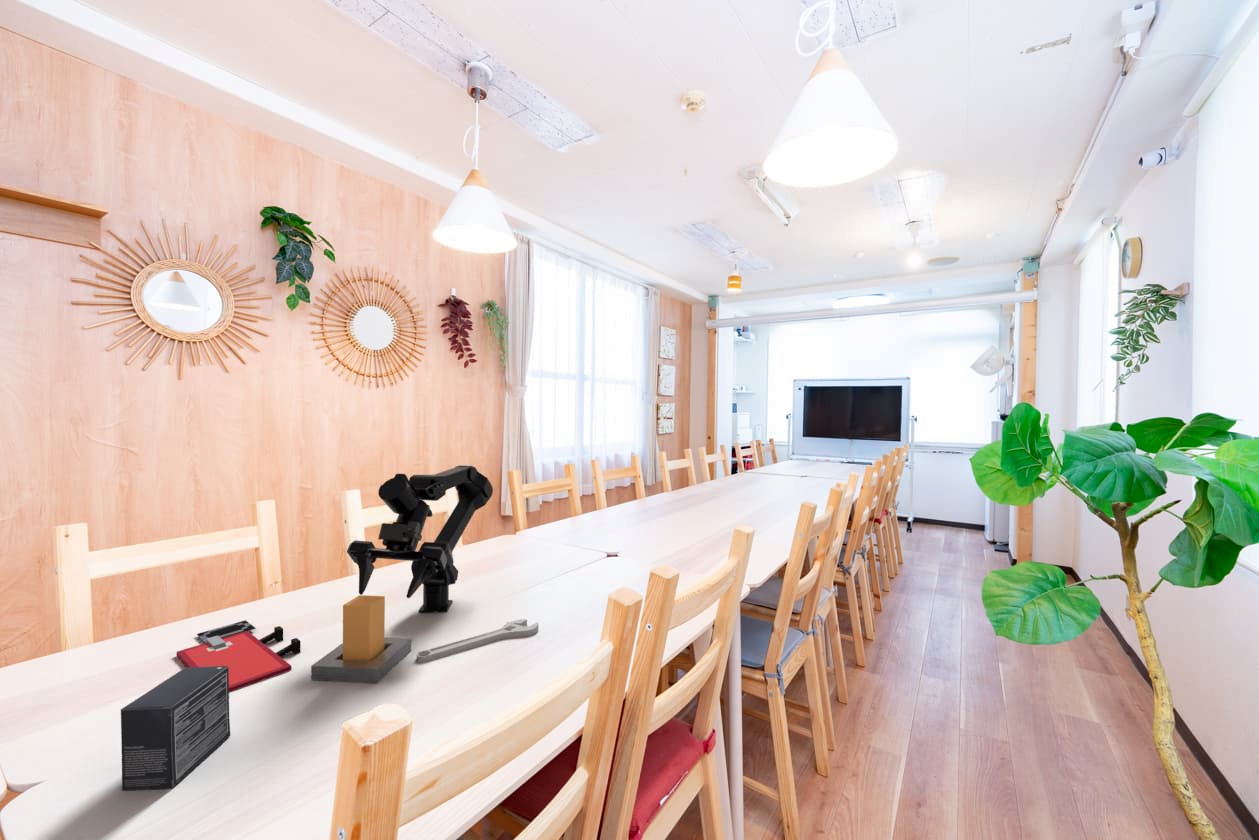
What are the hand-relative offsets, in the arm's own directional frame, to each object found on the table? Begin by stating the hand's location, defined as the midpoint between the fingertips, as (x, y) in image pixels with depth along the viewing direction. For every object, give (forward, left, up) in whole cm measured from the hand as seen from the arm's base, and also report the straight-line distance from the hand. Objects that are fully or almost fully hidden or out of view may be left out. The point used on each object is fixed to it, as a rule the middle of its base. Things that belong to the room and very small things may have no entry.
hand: (384, 595), depth 101 cm
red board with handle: (-1, -27, -11) cm, 29 cm away
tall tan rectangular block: (+6, -1, -11) cm, 12 cm away
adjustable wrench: (-2, +18, -11) cm, 22 cm away
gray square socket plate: (+6, -1, -11) cm, 12 cm away
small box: (+31, -15, -11) cm, 36 cm away
